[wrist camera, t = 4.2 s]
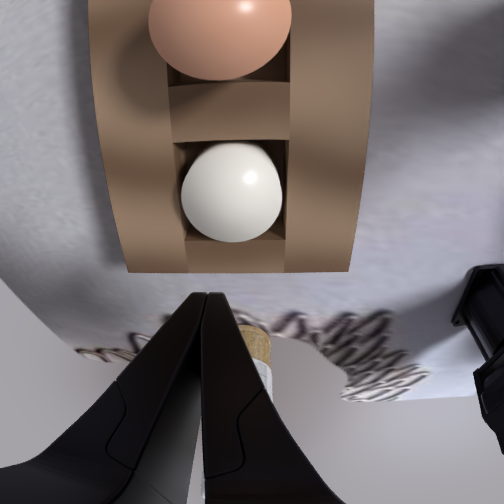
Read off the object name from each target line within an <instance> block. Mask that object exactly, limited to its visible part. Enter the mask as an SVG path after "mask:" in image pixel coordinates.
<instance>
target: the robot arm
mask: <svg viewBox="0 0 504 504" xmlns="http://www.w3.org/2000/svg"><path fill="white" fill-rule="evenodd" d="M451 322H452V324H453V326H461V325H467V327H468V329H469V331H470V332H471V334H472V336H473V338H474V340H475V341H476V343H477V345H478V347H479V349H480V351H481V353H482V355H483V357H484V359H485V361H486V362H485V363H484V364H483V365H482V366H481V367H480V368H479V369H478V368H477V369H476V370H475V371H474V372H473V376H474V380H475V386H476V390H477V395H478V399H479V404H480V408H481V414H482V417H483V419H484V421H485V423H487V424H488V426H489V427H490V428H491V429H492V430H493V431H494V432H495V434H496V436H497V439H498V442H499V445H500V448H501V451H502V454H503V455H504V265H493V266H478V267H476V268H475V270H474V271H473V274H472V276H471V279H470V281H469V283H468V286H467V288H466V290H465V292H464V295H463V297H462V299H461V301H460V303H459V306H458V308H457V310H456V312H455V314H454V316H453V318H452V320H451ZM201 416H202V417H201ZM200 419H201V420H202V446H203V465H204V479H205V481H204V484H205V504H346V503H344V502H343V501H342V500H341V499H340V498H339V497H338V496H337V495H336V494H335V493H334V492H333V491H332V490H331V489H330V488H329V487H328V486H327V484H326V483H325V482H324V481H323V479H322V478H321V477H320V476H319V474H318V473H317V471H316V470H315V469H314V467H313V466H312V465H311V463H310V462H309V460H308V459H307V457H306V456H305V455H304V453H303V452H302V450H301V449H300V447H299V446H298V445H297V443H296V442H295V440H294V439H293V437H292V436H291V434H290V433H289V431H288V430H287V428H286V426H285V425H284V423H283V421H282V420H281V418H280V416H279V414H278V412H277V411H276V408H275V407H274V404H273V403H272V401H271V398H270V396H269V394H268V392H267V390H266V389H265V386H264V383H263V381H262V379H261V377H260V375H259V372H258V370H257V368H256V366H255V363H254V361H253V359H252V357H251V354H250V352H249V350H248V348H247V345H246V343H245V341H244V338H243V336H242V334H241V332H240V329H239V327H238V325H237V322H236V320H235V318H234V315H233V313H232V311H231V308H230V306H229V303H228V301H227V299H226V296H225V294H224V293H222V292H210V293H209V294H207V293H206V292H193V293H191V294H190V295H189V296H188V297H187V298H186V300H185V301H184V302H183V303H182V304H181V305H180V306H179V307H178V309H177V310H176V311H175V312H174V313H173V314H172V315H171V316H170V318H169V319H168V320H167V321H166V322H165V323H164V324H163V326H162V327H161V328H160V329H159V330H158V331H157V332H156V333H155V335H154V336H153V337H152V338H151V339H150V340H149V341H148V343H147V344H146V345H145V346H144V347H143V348H142V349H141V351H140V352H139V353H138V354H137V355H136V356H135V358H134V359H133V360H132V361H131V362H130V363H129V364H128V366H127V367H126V368H125V369H124V370H123V371H122V372H121V374H120V375H119V376H118V377H117V379H116V381H114V382H113V383H112V384H111V385H110V386H109V387H108V389H107V390H106V391H105V392H104V393H103V394H102V395H101V396H100V397H99V399H98V400H97V401H96V402H95V403H94V404H93V405H92V406H91V407H90V408H89V409H88V410H87V411H86V412H85V413H84V414H83V415H82V416H81V417H80V418H79V419H78V420H77V421H76V422H75V423H74V424H73V425H71V426H70V427H69V428H68V429H67V430H66V431H65V432H64V433H63V434H62V435H61V436H60V437H58V438H57V439H56V440H55V441H54V442H53V443H52V444H51V445H50V446H49V447H48V448H46V449H45V450H44V451H43V452H42V453H40V454H39V455H38V456H36V457H34V458H32V459H31V460H28V461H26V462H23V463H20V464H17V465H12V466H8V467H4V468H0V504H186V503H187V497H188V490H189V484H190V478H191V472H192V465H193V459H194V454H195V448H196V442H197V436H198V430H199V424H200Z"/></svg>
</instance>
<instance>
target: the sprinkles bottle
mask: <svg viewBox="0 0 504 504" xmlns="http://www.w3.org/2000/svg"><path fill="white" fill-rule="evenodd" d="M238 327H239V329H240V332H241V334H242V336H243V338H244V341H245V343H246V345H247V348H248V350H249V352H250V354H251V357H252V359H253V361H254V363H255V366H256V368H257V370H258V372H259V375H260V377H261V379H262V381H263V383H264V386H265V389H266V390H267V392H268V394H269V396H270V398H271V401H272V403H273V389H272V372H271V368H270V349H271V340H270V338H269V336H268V335H267V334H266V333H265V332H264V331H263V330H261V329H260V328H258V327H254V326H250V325H238ZM204 481H205V479H204V471H203V472H202V480H201V496H202V497H203V498H204V499H205V484H204Z"/></svg>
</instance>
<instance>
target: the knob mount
mask: <svg viewBox="0 0 504 504" xmlns="http://www.w3.org/2000/svg"><path fill="white" fill-rule="evenodd" d="M152 1H153V0H88V27H89V48H90V63H91V75H92V86H93V95H94V104H95V112H96V120H97V127H98V134H99V141H100V147H101V153H102V159H103V165H104V170H105V175H106V181H107V186H108V191H109V196H110V200H111V205H112V210H113V214H114V218H115V223H116V227H117V231H118V235H119V239H120V243H121V247H122V251H123V255H124V259H125V262H126V266H127V270H128V273H303V272H348V270H349V265H350V260H351V254H352V249H353V243H354V238H355V232H356V226H357V219H358V213H359V206H360V200H361V193H362V185H363V178H364V170H365V161H366V153H367V143H368V133H369V123H370V111H371V97H372V81H373V59H374V0H290V4H291V13H292V17H291V25H290V30H289V33H288V36H287V38H286V40H285V42H284V44H283V46H282V47H281V49H280V50H279V51H278V53H277V54H276V55H275V56H274V57H273V58H272V59H271V60H270V61H269V62H267V63H266V64H265V65H264V66H262V67H260V68H259V69H257V70H255V71H253V72H251V73H249V74H247V75H244V76H241V77H238V78H233V79H228V80H205V79H199V78H195V77H192V76H189V75H186V74H184V73H182V72H180V71H178V70H176V69H175V68H173V67H172V66H171V65H169V64H168V63H167V62H166V61H165V60H164V59H163V58H162V57H161V55H160V54H159V53H158V51H157V50H156V48H155V46H154V44H153V42H152V40H151V36H150V32H149V25H148V20H149V11H150V6H151V3H152ZM253 139H255V140H257V141H259V142H260V143H262V144H263V145H264V146H265V147H266V148H267V149H268V150H269V151H270V153H271V154H272V156H273V158H274V160H275V162H276V166H277V171H278V176H279V181H280V186H281V191H282V204H281V209H280V212H279V214H278V217H277V218H276V220H275V222H274V223H273V224H272V225H271V227H270V228H269V229H267V230H266V231H265V232H264V233H262V234H261V235H259V236H257V237H255V238H253V239H250V240H247V241H242V242H223V241H219V240H215V239H212V238H210V237H208V236H206V235H204V234H203V233H201V232H200V231H199V230H197V229H196V228H195V227H194V226H193V225H192V223H191V222H190V221H189V219H188V218H187V216H186V214H185V212H184V209H183V206H182V200H181V192H182V186H183V182H184V180H185V177H186V175H187V174H188V172H189V170H190V168H191V166H192V164H193V162H194V161H195V159H196V157H197V155H198V154H199V152H200V151H201V150H202V148H203V147H204V146H205V145H206V144H208V143H209V142H211V141H213V140H253Z"/></svg>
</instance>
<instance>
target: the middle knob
mask: <svg viewBox="0 0 504 504" xmlns="http://www.w3.org/2000/svg"><path fill="white" fill-rule="evenodd" d="M291 17H292V13H291V4H290V0H153V1H152V3H151V6H150V11H149V20H148V25H149V32H150V36H151V40H152V42H153V44H154V46H155V48H156V50H157V51H158V53H159V54H160V55H161V57H162V58H163V59H164V60H165V61H166V62H167V63H168V64H169V65H171V66H172V67H173V68H175V69H176V70H178V71H180V72H182V73H184V74H186V75H189V76H192V77H195V78H199V79H205V80H228V79H233V78H238V77H241V76H244V75H247V74H249V73H251V72H253V71H255V70H257V69H259V68H260V67H262V66H264V65H265V64H266V63H267V62H269V61H270V60H271V59H272V58H273V57H274V56H275V55H276V54H277V53H278V51H279V50H280V49H281V47H282V46H283V44H284V42H285V40H286V38H287V36H288V33H289V30H290V25H291Z"/></svg>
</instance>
